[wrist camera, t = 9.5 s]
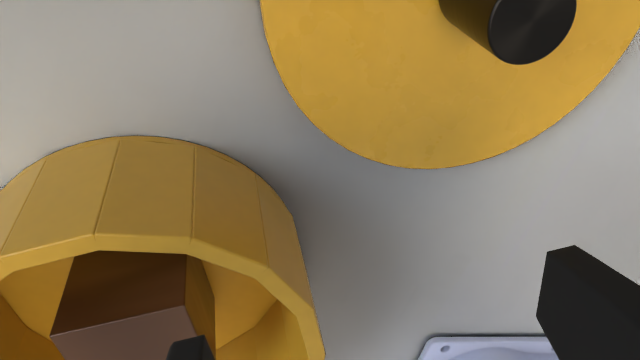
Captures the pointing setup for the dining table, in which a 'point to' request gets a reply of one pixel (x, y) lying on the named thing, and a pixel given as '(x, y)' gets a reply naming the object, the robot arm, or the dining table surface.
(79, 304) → the walnut block
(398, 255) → the dining table surface
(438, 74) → the tin lid
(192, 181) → the tin
